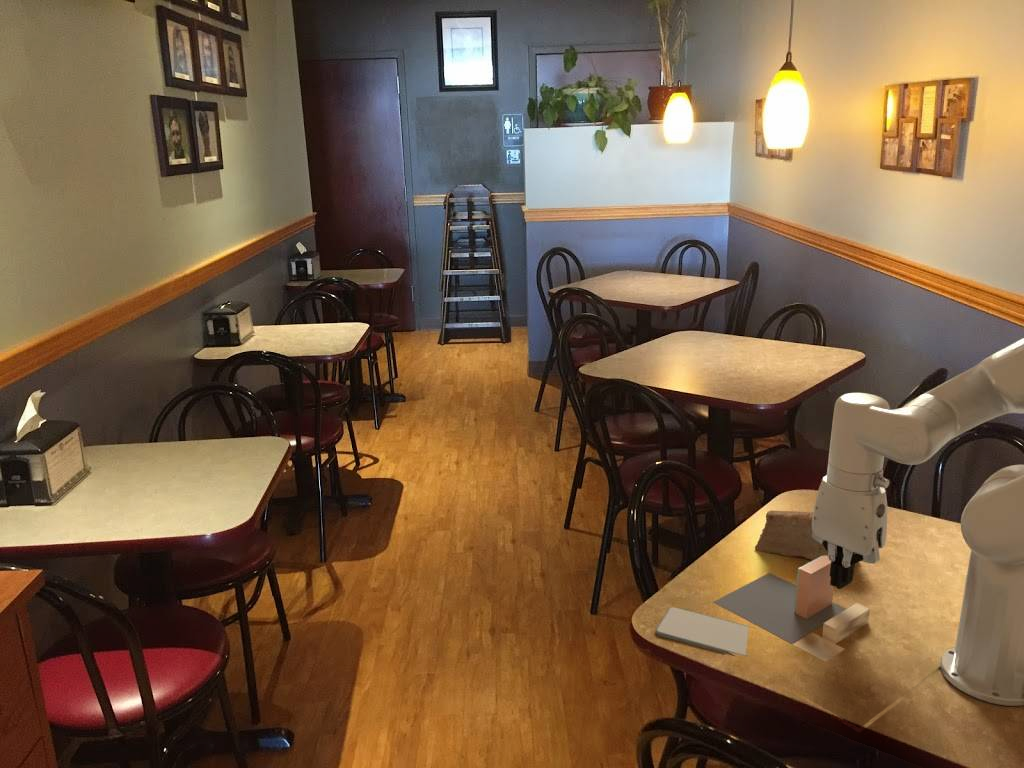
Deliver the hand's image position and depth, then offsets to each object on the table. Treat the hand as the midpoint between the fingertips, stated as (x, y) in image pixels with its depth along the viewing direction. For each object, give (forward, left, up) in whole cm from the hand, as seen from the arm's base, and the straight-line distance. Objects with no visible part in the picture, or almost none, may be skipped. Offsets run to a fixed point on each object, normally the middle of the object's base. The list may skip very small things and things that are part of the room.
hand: (840, 584), depth 130 cm
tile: (+4, 0, -6) cm, 8 cm away
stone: (+15, -14, -7) cm, 22 cm away
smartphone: (+11, +18, -7) cm, 22 cm away
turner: (-2, +4, -7) cm, 8 cm away
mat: (+8, +3, -7) cm, 11 cm away
